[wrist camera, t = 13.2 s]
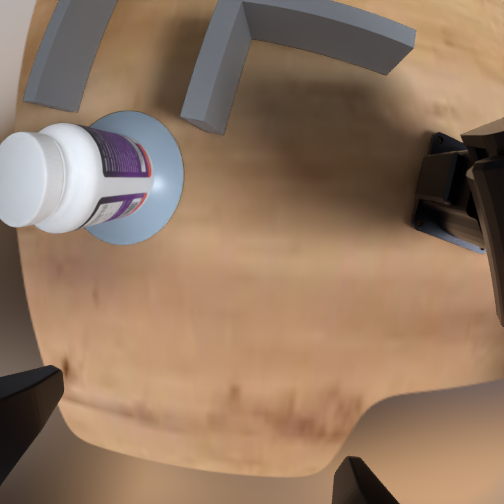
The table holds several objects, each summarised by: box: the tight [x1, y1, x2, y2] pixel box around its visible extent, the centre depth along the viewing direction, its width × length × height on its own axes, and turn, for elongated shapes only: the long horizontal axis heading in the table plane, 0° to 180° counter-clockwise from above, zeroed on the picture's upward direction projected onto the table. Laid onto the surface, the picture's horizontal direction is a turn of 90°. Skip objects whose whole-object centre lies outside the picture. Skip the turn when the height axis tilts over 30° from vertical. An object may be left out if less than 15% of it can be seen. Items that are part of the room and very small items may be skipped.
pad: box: [85, 111, 184, 245], centre depth 20 cm, size 9×9×1 cm
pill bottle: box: [0, 123, 154, 234], centre depth 15 cm, size 5×5×10 cm
